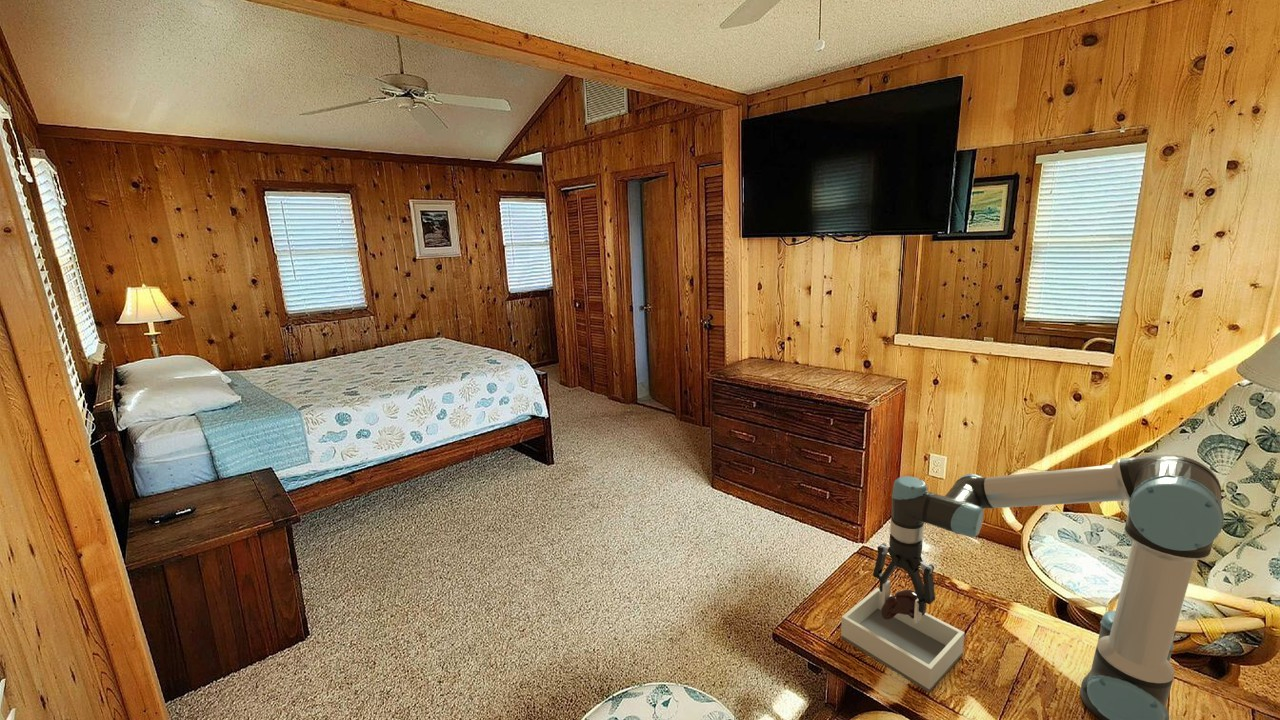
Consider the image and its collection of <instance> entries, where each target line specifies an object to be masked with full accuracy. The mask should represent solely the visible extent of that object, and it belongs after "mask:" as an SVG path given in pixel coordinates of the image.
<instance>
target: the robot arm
mask: <svg viewBox="0 0 1280 720" xmlns="http://www.w3.org/2000/svg"><path fill="white" fill-rule="evenodd" d="M1121 501H1122V502H1123V501H1126V502H1128V513H1127V517H1126V521H1125V525H1124V533H1125V534H1126V535H1127V537H1129V538H1130V540H1131V541H1132V542H1131V546H1130V551H1129V555H1128V559H1127V563H1126V567H1125V570H1124V574H1123V575H1124V576H1123V578H1122V583H1121V586H1120V587H1121V588H1120V591H1119V596H1118V600H1117V603H1116V607H1115V610H1111V611H1107V612H1105V613H1104V614H1103V615H1102V617H1101V620H1100V621H1099V624H1100V629H1099V634H1098V639H1097V644H1096V648H1095V652H1094V656H1093V658H1092V659H1093V660H1092V665H1091V668H1090V670H1089V671H1088V673H1087V674H1086V675H1085V677H1083V679H1082V681H1081V683H1080V690H1079V695H1080V699H1081V700H1082V702H1083V704H1084V705H1085V707H1086V708H1087V709H1088V711H1090V712H1091V713H1092V714H1093V715H1094V716H1095V717H1096V718H1098V719H1099V720H1170V715H1169V710H1168V707H1167V703H1168V699H1169V695H1170V692H1171V688H1172V685H1173V682H1174V677H1175V675H1176V674H1175V669H1174V667H1173V665H1172V664H1171V656H1172V651H1174V649H1175V648H1174V636H1175V632H1176V628H1177V626H1178V621H1179V618H1180V614H1181V611H1182V608H1183V604H1184V601H1185V596H1186V593H1187V589H1188V587H1189V583H1190V580H1191V575H1192V572H1193V568H1194V566H1195V562H1196V561H1199V560H1203V559H1207V558H1208V557H1209V556H1210V555H1211V551H1212V548H1213V545H1214V542H1215V540H1216V539H1217V538H1218V536H1219V534H1220V533H1221V531H1222V530H1223V526H1224V523H1225V521H1224V520H1225V518H1224V517H1225V516H1224V510H1223V507H1222V487H1221V483H1220V481H1219V479H1218V478H1217V475H1216V474H1215V473H1214V472H1213V471H1212V470H1211V469H1210V468H1208V467H1207V466H1206V465H1204V464H1203V463H1201V462H1199V461H1197V460H1195V459H1193V458H1191V457H1186V456H1183V455H1176V454H1154V455H1153V454H1151V455H1143V456H1142V455H1141V456H1140V455H1139V456H1132V457H1124V458H1118V459H1117V460H1116V461H1115V463H1112V464H1105V465H1095V466H1085V467H1084V466H1083V467H1077V468H1076V467H1075V468H1067V469H1066V468H1065V469H1056V470H1048V471H1047V470H1046V471H1045V470H1044V471H1036V472H1028V473H1018V474H1008V475H998V476H997V475H996V476H987V477H983V476H981V475H978V474H975V473H967V474H964V475H962V476H961V477H960V478H958V479H957V480H956V481H955V482H954V484H953V486H952V487H951V488H950V489H949V490H948V492H947V493H946V494H945V495H942V494H937V493H935V492H932V491H928V488H927V483H926V482H925V481H924V480H922V479H920V478H918V477H915V476H909V475H908V476H907V475H904V476H900V477H897V478H896V479H895V480H894V482H893V486H892V494H891V514H890V515H891V516H890V518H891V519H890V529H889V532H890V533H889V546H887V544H886V543H884V542H883V543H882V544H880V545H879V546H878V547H877V557H876V561H875V564H874V569H873V572H872V576H873V578H877V579H878V581H879V587H878V588H879V590H880V592H882V605H883V604H884V603H885V601H886V600H887V599H888V598H889V597H890V595H891V580H889V578H890V576H891V575H892V574H893V572H894V571H895V570H896V568H899V569H902V570H903V571H905V572H907V574H908V577H910V580H911V583H912V585H913V590H914V591H915V592H916V595H917V597H918V598H917V599H916V600H915V610H914V623H916V624H917V623H918V622H919V621H920V620H921V619H922V613H923V612H924V611H925V610H926V611H927V605H931V604H932V603H933V602H934V601H935V600H936V593H935V584H934V576H933V572H934V569H935V566H934V565H933V564H928V563H926V562H924V561H923V558H922V553H923V543H924V542H923V538H924V524H927V525H932V526H934V527H937V528H940V529H943V530H945V531H949V532H952V533H953V534H956V535H962V536H965V537H970V538H975V537H977V536H979V534H980V531H981V528H982V526H983V522H984V510H990V509H998V508H999V509H1001V508H1002V509H1003V508H1016V507H1017V508H1018V507H1019V508H1020V507H1035V506H1037V507H1039V506H1051V505H1053V506H1054V505H1071V504H1087V503H1102V502H1104V503H1105V502H1107V503H1108V502H1121ZM888 554H889V556H890V558H891V561H890V563H889V564H888V566H887V567H886V568H885V570H884V567H885V566H884V565H885V562H886V559H887V555H888ZM920 568H921V569H920ZM883 570H884V572H883ZM920 571H921V572H920ZM921 573H923V574H922V576H921Z"/></svg>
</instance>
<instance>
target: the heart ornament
mask: <svg viewBox="0 0 1280 720" xmlns="http://www.w3.org/2000/svg"><path fill="white" fill-rule="evenodd" d="M917 598H918V597H917V595H916V592H915V589H902V590H899V591H897V592H895V593H894V595H892V596H891V597H889V598H888V599H887V600H886V601H885V603H884V604H883V606H882V608H881V615H882V617H883V618H884V619H886V620H888V619H891V618H893V617H894V616H895V615H896V614H904V615H909V616H910V617H911V618H914V610H915V600H916V599H917ZM926 611H927V609H926V610H925V611H924V612H923V613H922V616H923V615H924V614H925V613H927V612H926Z"/></svg>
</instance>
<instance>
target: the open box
mask: <svg viewBox="0 0 1280 720" xmlns="http://www.w3.org/2000/svg"><path fill="white" fill-rule="evenodd" d="M879 588H880V587H876V588H875V589H873V590H872V591H871V592H870V593H869V594H868V595H866V596H865V597H864V598H862V599H861V600H860V601H859V602H857V603H856V604H855V605H854V606H852V608H850V609H849V610H848V611H847V612H845V613H844V614H843V615H842V616H841V626H840V627H841V628H840V630H841V631H840V632H841V633H840V638H841V640H843V641H844V642H847V643H848V644H850V645H852V646H853V647H855V648H856V649H858V650H859V651H861V652H862V653H864V654H866V655H868V656H869V657H871V658H873V660H876V661H877V662H879V663H880V664H882V665H884V666H885V667H887V668H888V669H890V670H892V671H893V672H895V673H897V674H898V675H900V676H901V677H903V678H905V679H906V680H908V681H910V682H911V683H912V684H914V685H916V686H918V687H919V688H920V689H922V690H924V691H925V692H927V693H928V694H930V693H931V692H932V691H933V689H934V688H935V687H936V686H937V685H938V684H939V682H940V681H941V680H942V679H943V678H944V677H945V676H946V675H947V674H948V672H950V670H951V669H952V668H953V667H954V666H955V664H956V663H957V662H958V661H959V660H960V659H961V657H962V656H963V654H964V645H965V644H964V642H965V635H966V633H965V632H964V631H962V630H961V629H959V628H956V627H955V626H953V625H951V624H949V623H948V622H945V621H943V620H941V619H940V618H937V617H935V616H933V615H932V614H930V613H928V612H926V613H925V614H924V615H923V616H922V619H921V620H920V621H919V622H918V623H917V624H916V623H914V618H911V617H910V616H909V615H904V614H896V615H895V616H894V617H893V618H891V619H888V620H886V619H884V618H883V617H882V615H881V608H882V606H883V605H882V592H880V590H879ZM891 596H893V594H890V597H891Z"/></svg>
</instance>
